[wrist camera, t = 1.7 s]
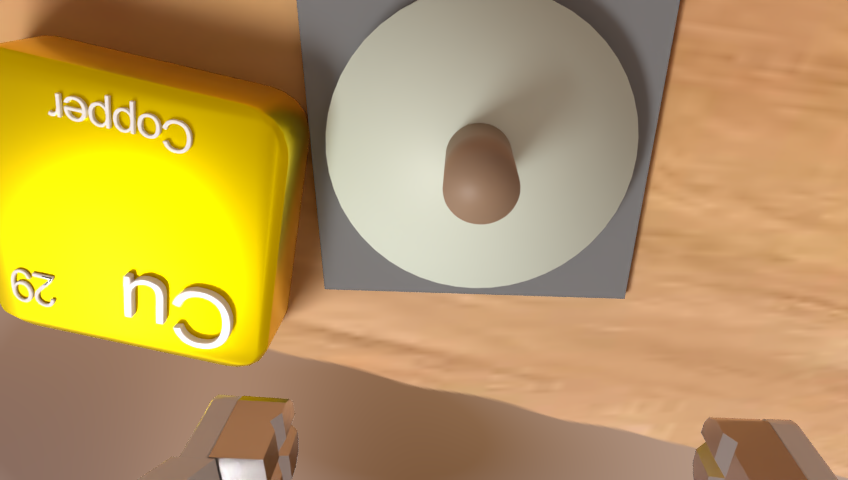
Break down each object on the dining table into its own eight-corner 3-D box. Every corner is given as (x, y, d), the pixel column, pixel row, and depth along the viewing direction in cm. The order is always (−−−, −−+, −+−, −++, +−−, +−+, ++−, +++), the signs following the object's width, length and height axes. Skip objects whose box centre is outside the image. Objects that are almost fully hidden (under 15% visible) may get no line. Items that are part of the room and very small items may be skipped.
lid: (658, -16, 24) (708, -11, 19) (609, 282, 31) (636, 343, 26) (316, -15, 25) (280, -10, 20) (340, 275, 32) (318, 332, 27)
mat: (684, -42, 24) (687, -42, 24) (622, 294, 32) (624, 298, 31) (295, -40, 25) (292, -40, 25) (326, 285, 33) (324, 289, 32)
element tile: (316, 94, 28) (290, 118, 24) (286, 331, 35) (261, 383, 31) (18, 24, 27) (-64, 36, 23) (46, 278, 34) (-14, 324, 30)
